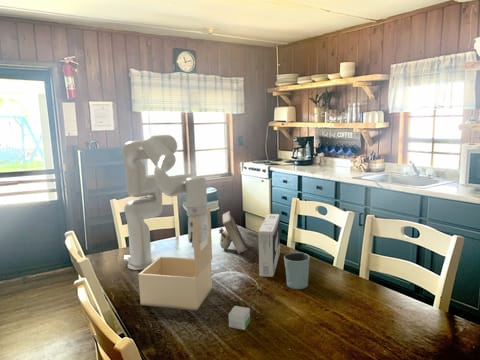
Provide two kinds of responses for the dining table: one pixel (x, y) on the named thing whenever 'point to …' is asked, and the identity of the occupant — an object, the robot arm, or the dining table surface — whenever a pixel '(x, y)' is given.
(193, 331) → the dining table surface
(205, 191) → the robot arm
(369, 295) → the dining table surface
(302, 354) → the dining table surface
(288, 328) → the dining table surface
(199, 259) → the lid flap
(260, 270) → the packaging
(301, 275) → the blue gray cup
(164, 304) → the carton
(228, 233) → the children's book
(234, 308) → the small box
